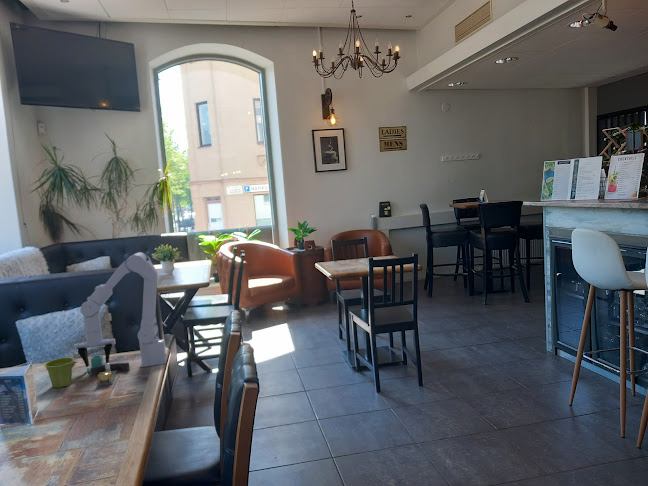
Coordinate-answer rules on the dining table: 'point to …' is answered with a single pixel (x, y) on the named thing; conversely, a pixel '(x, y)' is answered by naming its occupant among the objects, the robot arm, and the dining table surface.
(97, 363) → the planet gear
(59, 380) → the plant pot
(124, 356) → the dining table surface
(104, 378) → the carrier
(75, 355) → the soldier figure
